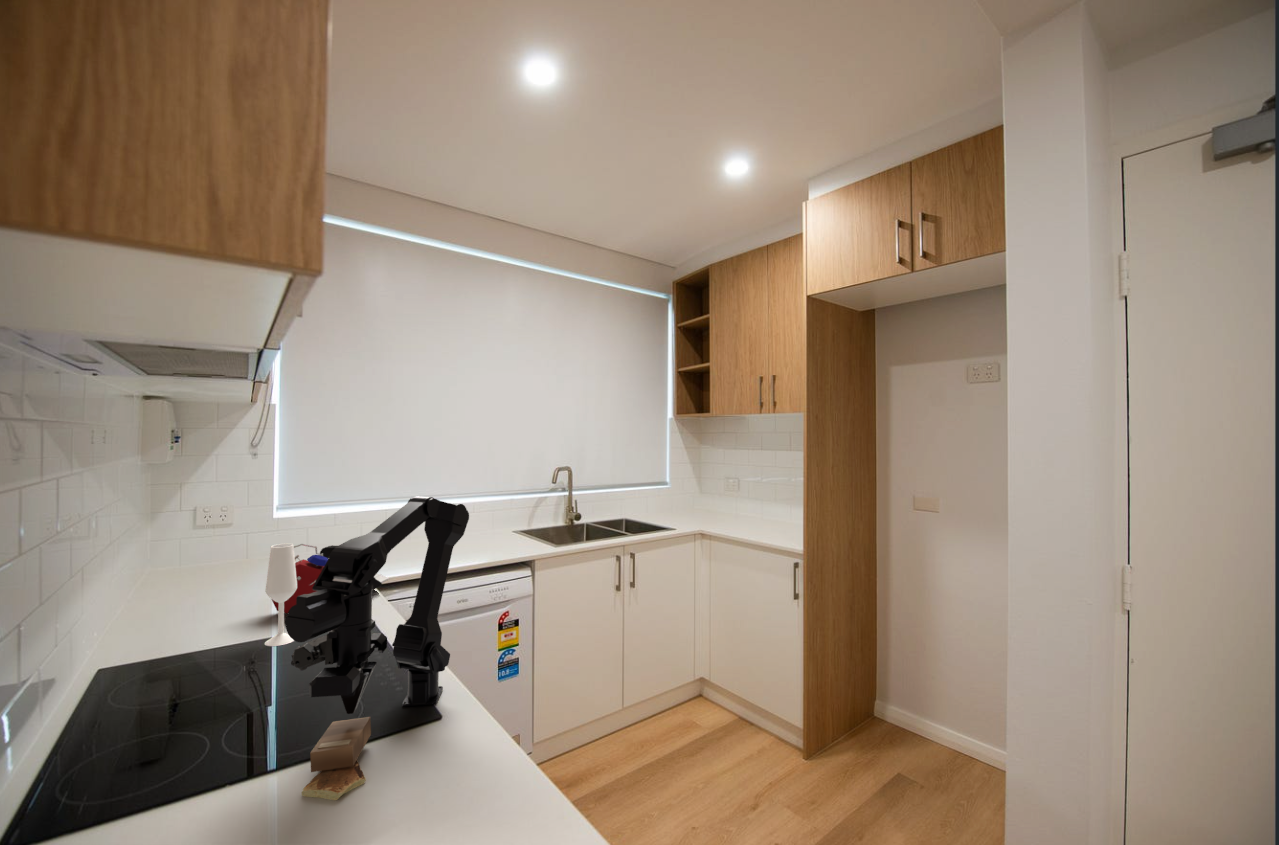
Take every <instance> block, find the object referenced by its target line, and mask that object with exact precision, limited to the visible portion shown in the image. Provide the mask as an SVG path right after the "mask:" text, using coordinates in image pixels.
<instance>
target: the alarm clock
mask: <svg viewBox="0 0 1279 845" xmlns="http://www.w3.org/2000/svg"><path fill="white" fill-rule="evenodd" d="M293 546H294V549H295V548H298V547H301V546H305V547H309V548H313V549H315V554H313V555H311V556H310V557H308V558H307V559H300V555H299V554H297V555H295V556H294V557H295V568H296V578H297V589H296V591H295V593H294V594H293V595H292V596H291V597H290V598H289V599H288V600H286V601H285V602H284V614H288V612H289V610H290V608H291V607H292V606H294V605H296V598H297V596H300V595H303V594H310V593H313V592H316V591H315V590H313V589H312V587H313V586H314V584H315V582H316V580H317V578H318V577H319V575H320V573H321V571H322V570H323V568H324V566H325V564H326V562H327V561H328V558H326V557H324V556H323V553H322V554H320V552H318V547H317V546H316V545H310V544H304V543H300V544H297V545H293ZM297 560H299V561H297ZM270 600H271V601H272V603H273V605H274V607H275V610H276V611H277V612H278V607H279V603H278V602H275V601H274V600H272V599H271V598H270Z"/></svg>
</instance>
